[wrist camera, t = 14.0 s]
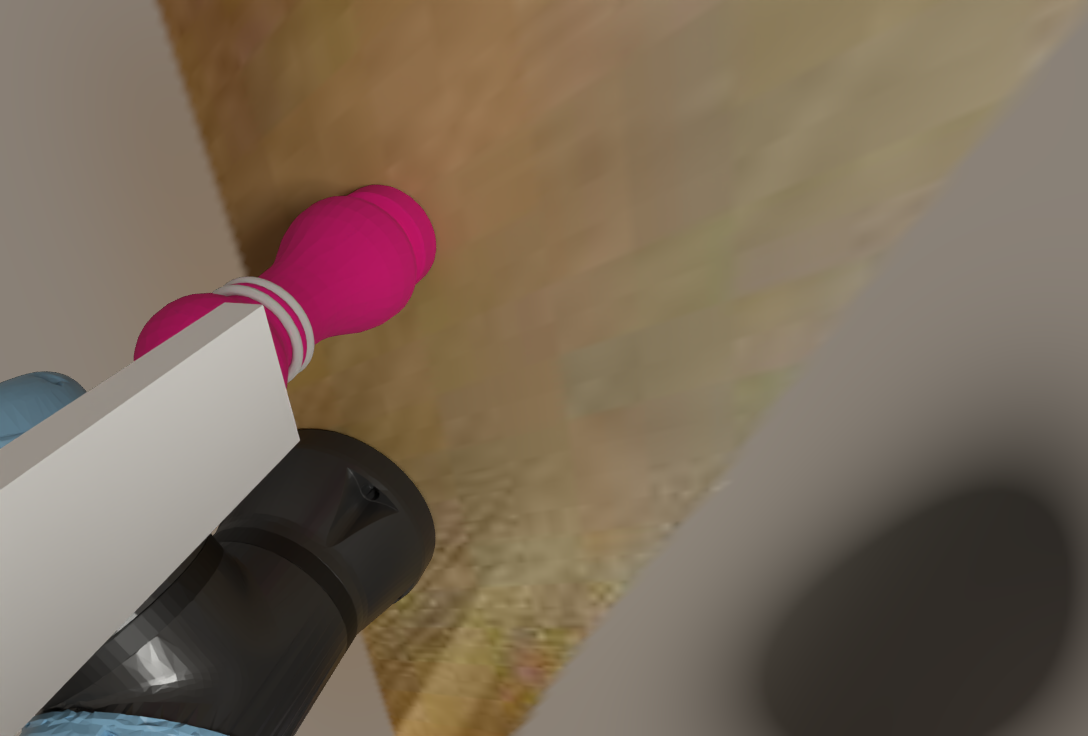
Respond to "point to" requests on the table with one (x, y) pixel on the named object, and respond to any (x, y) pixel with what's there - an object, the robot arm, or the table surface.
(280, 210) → the table surface
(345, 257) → the pepper mill
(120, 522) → the robot arm
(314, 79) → the table surface
